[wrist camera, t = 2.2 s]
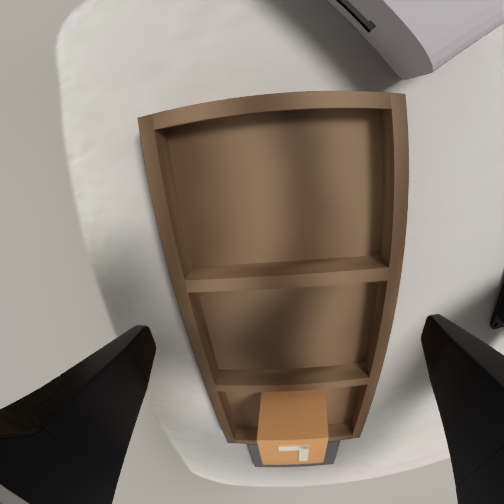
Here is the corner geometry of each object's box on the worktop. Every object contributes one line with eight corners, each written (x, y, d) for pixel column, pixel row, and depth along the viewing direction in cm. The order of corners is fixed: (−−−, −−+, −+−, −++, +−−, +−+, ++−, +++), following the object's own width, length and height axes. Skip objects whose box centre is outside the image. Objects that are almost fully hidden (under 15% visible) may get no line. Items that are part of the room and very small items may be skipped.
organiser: (389, 96, 13) (405, 93, 11) (356, 419, 24) (359, 437, 22) (155, 117, 14) (137, 117, 12) (230, 425, 26) (227, 442, 24)
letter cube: (323, 385, 21) (328, 438, 16) (320, 417, 23) (323, 463, 18) (261, 388, 22) (256, 441, 17) (266, 419, 24) (262, 465, 19)
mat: (339, 437, 26) (339, 441, 25) (332, 460, 29) (333, 463, 28) (248, 440, 27) (248, 445, 26) (255, 462, 30) (254, 466, 29)
